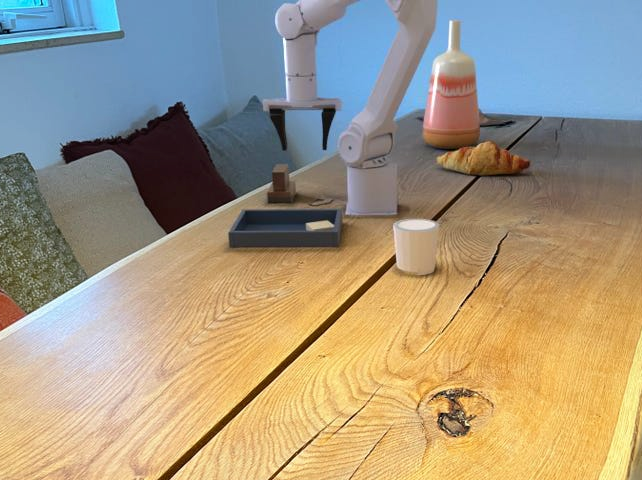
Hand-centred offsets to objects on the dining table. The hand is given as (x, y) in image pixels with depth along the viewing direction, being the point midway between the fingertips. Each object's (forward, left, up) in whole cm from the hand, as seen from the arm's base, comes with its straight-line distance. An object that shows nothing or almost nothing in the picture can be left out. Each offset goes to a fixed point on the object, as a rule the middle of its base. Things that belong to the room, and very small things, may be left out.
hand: (304, 149), depth 153 cm
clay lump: (-4, +23, -9) cm, 26 cm away
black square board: (-30, -71, -8) cm, 77 cm away
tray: (+1, +25, -10) cm, 27 cm away
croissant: (-37, -23, -10) cm, 45 cm away
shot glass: (-20, +41, -10) cm, 47 cm away
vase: (-32, -51, -10) cm, 61 cm away
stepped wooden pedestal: (+5, 0, -10) cm, 11 cm away
